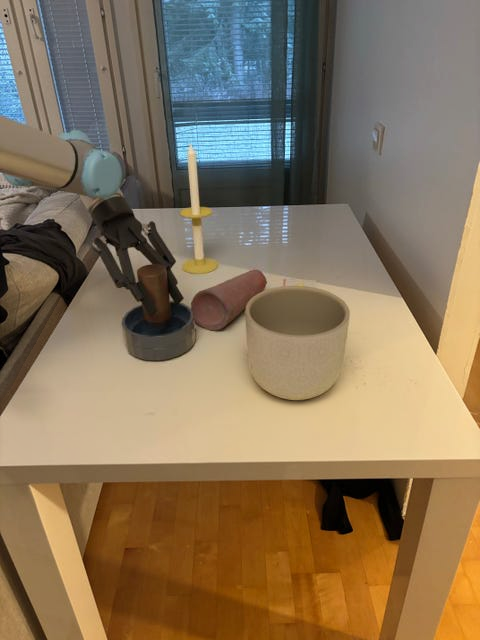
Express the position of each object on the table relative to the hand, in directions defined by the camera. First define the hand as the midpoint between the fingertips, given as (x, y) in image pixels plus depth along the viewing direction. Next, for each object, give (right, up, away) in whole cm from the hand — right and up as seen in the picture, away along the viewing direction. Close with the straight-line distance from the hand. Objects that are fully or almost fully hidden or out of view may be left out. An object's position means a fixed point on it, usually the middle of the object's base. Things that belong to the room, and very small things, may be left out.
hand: (167, 307), depth 89 cm
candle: (+3, +12, +39) cm, 41 cm away
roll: (-2, -2, +4) cm, 5 cm away
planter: (+24, -14, -5) cm, 28 cm away
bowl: (-2, -7, +7) cm, 10 cm away
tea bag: (+27, -3, +13) cm, 30 cm away
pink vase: (+14, 0, +18) cm, 22 cm away
